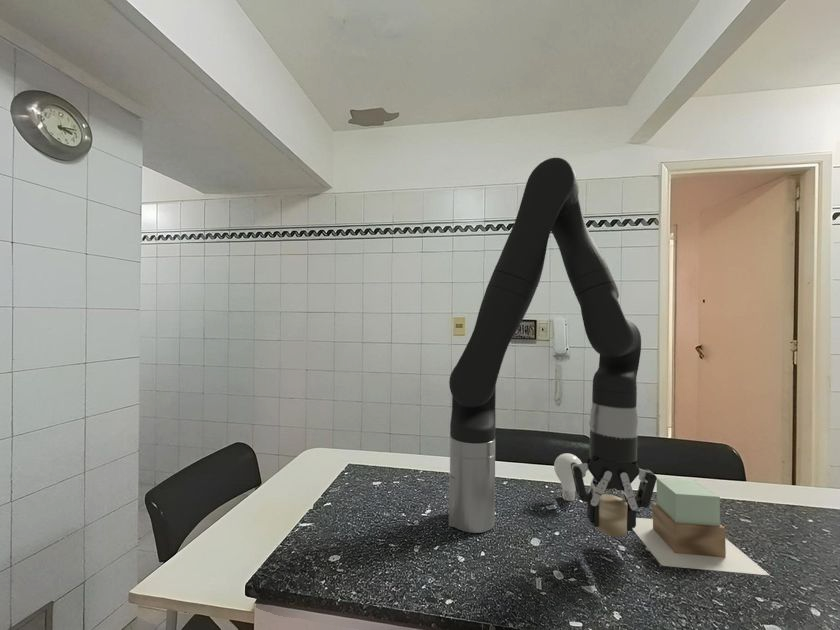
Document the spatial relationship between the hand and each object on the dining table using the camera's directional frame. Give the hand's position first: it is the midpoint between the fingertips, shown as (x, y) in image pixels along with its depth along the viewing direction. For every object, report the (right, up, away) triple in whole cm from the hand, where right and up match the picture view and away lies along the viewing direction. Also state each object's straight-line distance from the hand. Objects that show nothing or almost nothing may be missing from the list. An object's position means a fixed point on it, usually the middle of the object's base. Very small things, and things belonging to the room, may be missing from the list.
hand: (611, 526), depth 66 cm
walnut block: (+15, -4, +2) cm, 16 cm away
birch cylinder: (0, 0, 0) cm, 0 cm away
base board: (+15, -5, +2) cm, 16 cm away
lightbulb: (0, -6, +20) cm, 20 cm away
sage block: (+15, +1, +3) cm, 15 cm away
